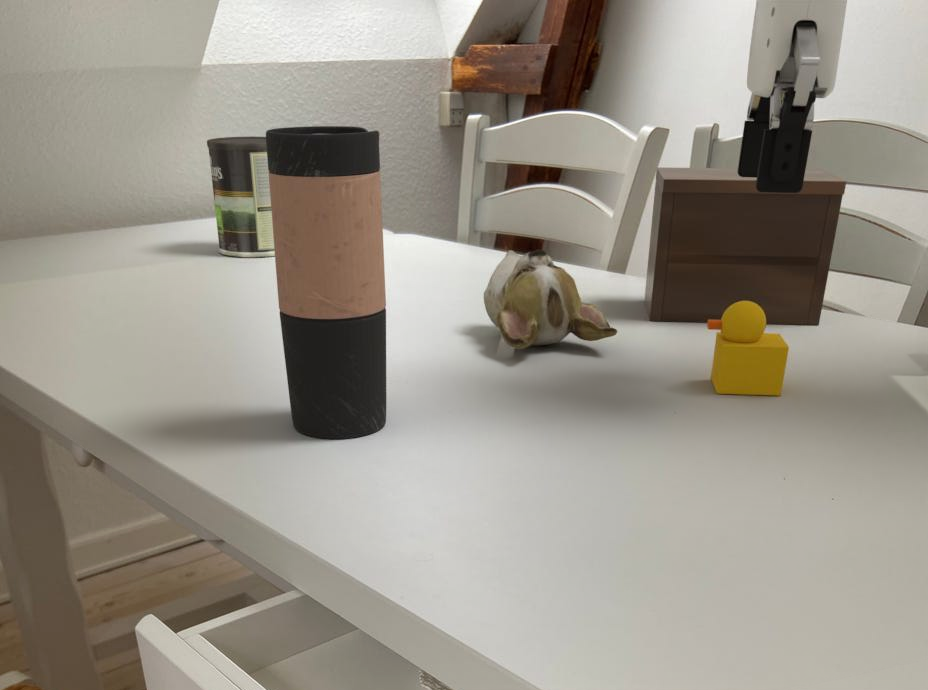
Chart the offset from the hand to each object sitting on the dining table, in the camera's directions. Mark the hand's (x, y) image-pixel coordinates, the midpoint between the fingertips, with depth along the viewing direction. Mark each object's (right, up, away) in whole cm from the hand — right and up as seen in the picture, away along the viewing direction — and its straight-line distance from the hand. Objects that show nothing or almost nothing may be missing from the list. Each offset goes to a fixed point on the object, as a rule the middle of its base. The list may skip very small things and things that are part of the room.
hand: (767, 184), depth 76 cm
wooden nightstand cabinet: (+6, +1, +32) cm, 32 cm away
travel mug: (-33, -18, 0) cm, 37 cm away
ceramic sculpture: (-16, -6, +21) cm, 27 cm away
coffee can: (-51, +20, +64) cm, 85 cm away
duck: (+1, -13, +8) cm, 16 cm away
